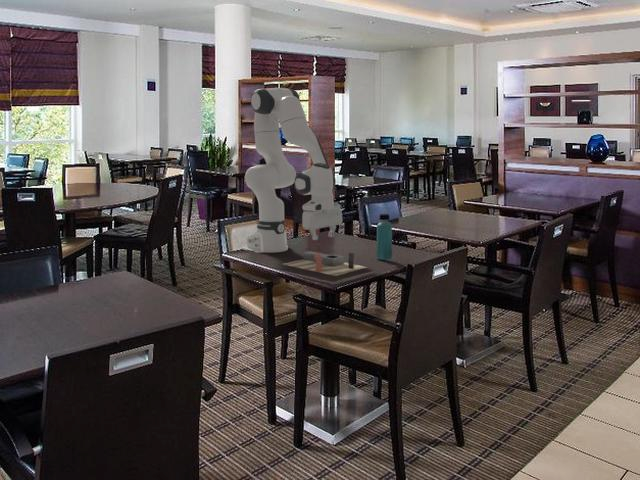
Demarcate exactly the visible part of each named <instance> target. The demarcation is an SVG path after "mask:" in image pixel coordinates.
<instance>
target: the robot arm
mask: <svg viewBox="0 0 640 480" xmlns="http://www.w3.org/2000/svg"><path fill="white" fill-rule="evenodd" d="M300 99H301V98H300V95H299V93H298V92H297V91H296V89H292V88H289V87H288V88H283V87H272V88H271V87H270V88H268V87H267V88H264V87H262V88H259V89H255V90H254V91H253V93H252V94H251V96H250V105H251V106H250V107H251V108H252V110H253V111H254V120H253V131H254V132H253V133H254V143H255V151H256V153H258V154H259V155H261V156H262V157H263V159H264V161H265V163H266V164H257V165H255V166H254V165H253V166H251V167H249V168H247V170H246V172H245V175H244V182H245V184H246V186H247V187H248V188H249V189H250V190H251V191H252V192H253V193H254V195H255V197H256V200H257V202H258V214H259V215H258V216H259V219H258V220H257V221H256V220H255V225H256V228H255V229H254V230H253V231H252V232H251V233H250V234H248V235H247V237H246V245H244V246H241V250H244V251H251V252H253V253H254V252H255V253H256V254H257V253H260V254H261V253H281V252H286V251H288V249H289V246H288V240H287V232H286V219H285V203H284V201H283V200H282V199H281V198H280V197H278V196H277V194H276V189H283V188H287V187H290V186H292V185H293V184H294V188H295V189H294V190H296V192H297V193H298V194H299V195H302V196H308V195H311V199H310V200H309V201H307V202H305V203H304V204H302V208H301V209H302V211H303V212H302V216H301V217H302V220H301V223H302V224H301V225H302V228H303V229H304V230H307V231H309V233H310V234H311V236H312V238H311V239H312V241H318V240H319V235H317V233H316V232H317V230H318V229H322V228H330V230H329V232H328V237H329V238H332V237H334V236H335V231H336V229H337V226H338V225H342V224H343V213H342V209H341V205H340V203H338V202H337V201H336V202H334V193H333V191H334V189H335V186H336V184H337V181H336V180H337V179H336V177H335V174H334V172H333V169H332V166H331V165H329V163H328V159H327V158H326V155H325V152H324V149H323V148H322V145H321V142H320V141H319V138H318V137H317V135H316V134H315V133H314V132H313V131H312V129H311V128H310V126H309V124H308V120H307V118H306V113H305V111H304V108H303V106H302V105H303V104H302V102H301V101H300ZM280 130H281V132H280ZM281 134H282V136H283V138H284V139H285V140H286V142H288V143H290V144H292V145H294V146H297V147H299V148H301V149H303V150H305V151H306V152H307V153H308V154H309V156H310V158H311V161H312V165H311V167H309V168H308V169H306V170H304V171H301V172H298V173H297V171H296V169H295V167H294V166H293V165H292V164H291V163H289V161H288V159H287V158H286V156H285V154H284V151H283V147H282V139H281Z"/></svg>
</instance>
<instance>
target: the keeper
mask: <svg viewBox="0 0 640 480" xmlns="http://www.w3.org/2000/svg"><path fill="white" fill-rule="evenodd" d="M314 258H315V260H316V271H322V256H321V255H320V254H314Z"/></svg>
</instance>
